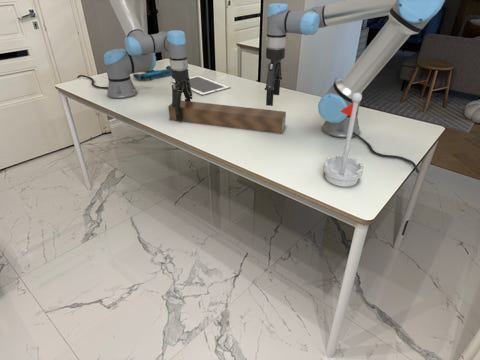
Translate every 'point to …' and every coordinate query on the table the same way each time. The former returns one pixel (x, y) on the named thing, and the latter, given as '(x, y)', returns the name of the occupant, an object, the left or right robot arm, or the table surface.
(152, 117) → the table surface
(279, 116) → the slab
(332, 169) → the flag stand
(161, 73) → the submachine gun
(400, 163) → the table surface
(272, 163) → the table surface
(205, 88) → the tablet
